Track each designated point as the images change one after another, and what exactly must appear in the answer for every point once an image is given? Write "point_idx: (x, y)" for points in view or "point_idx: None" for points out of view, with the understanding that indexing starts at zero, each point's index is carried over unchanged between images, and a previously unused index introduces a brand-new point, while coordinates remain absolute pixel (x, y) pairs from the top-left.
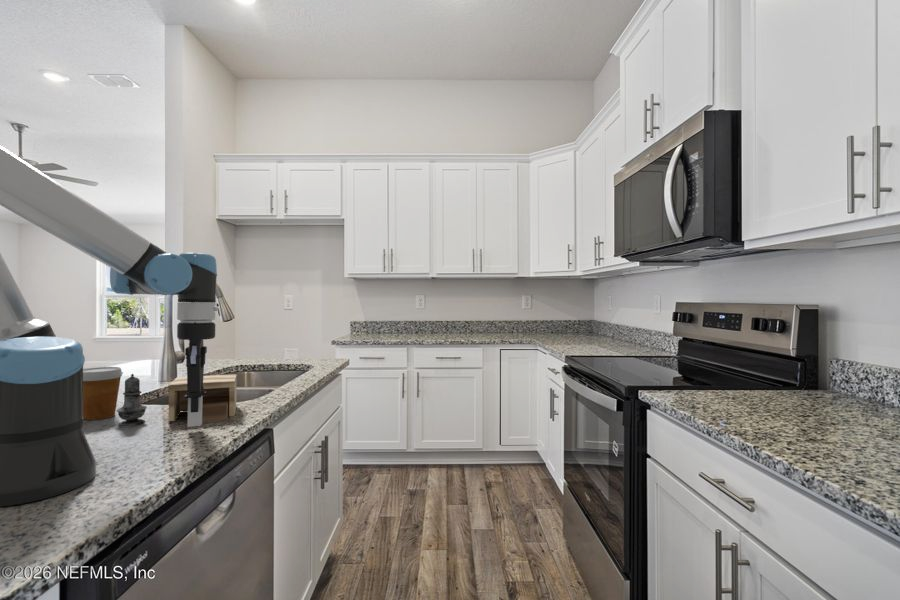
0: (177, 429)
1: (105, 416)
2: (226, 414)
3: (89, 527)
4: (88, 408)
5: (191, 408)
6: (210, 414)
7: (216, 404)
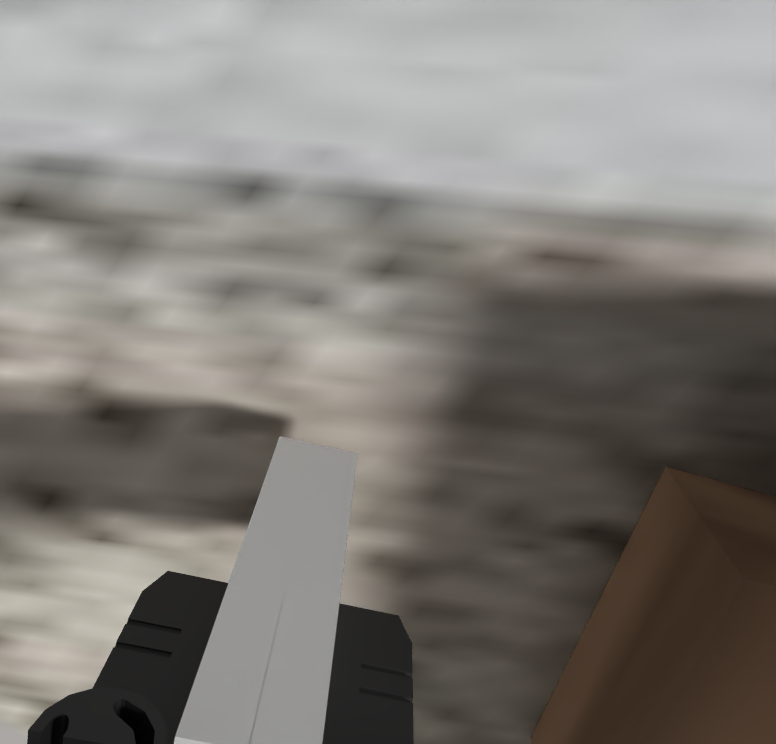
0: (514, 339)
1: None
2: None
3: None
4: None
5: (134, 622)
6: (603, 695)
7: None
